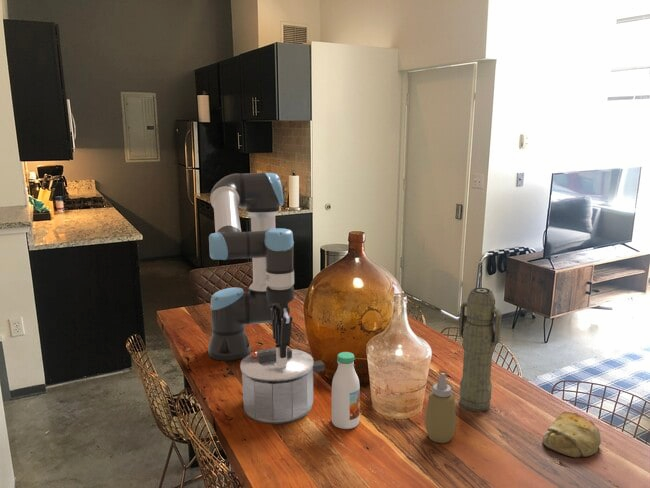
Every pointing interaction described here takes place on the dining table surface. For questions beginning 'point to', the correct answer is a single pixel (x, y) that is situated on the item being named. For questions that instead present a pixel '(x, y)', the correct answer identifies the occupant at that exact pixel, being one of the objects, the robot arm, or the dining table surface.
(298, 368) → the lid
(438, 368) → the dining table surface
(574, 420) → the pastry
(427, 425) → the squeeze bottle
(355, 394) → the milk bottle
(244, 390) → the pot
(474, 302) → the thermos
